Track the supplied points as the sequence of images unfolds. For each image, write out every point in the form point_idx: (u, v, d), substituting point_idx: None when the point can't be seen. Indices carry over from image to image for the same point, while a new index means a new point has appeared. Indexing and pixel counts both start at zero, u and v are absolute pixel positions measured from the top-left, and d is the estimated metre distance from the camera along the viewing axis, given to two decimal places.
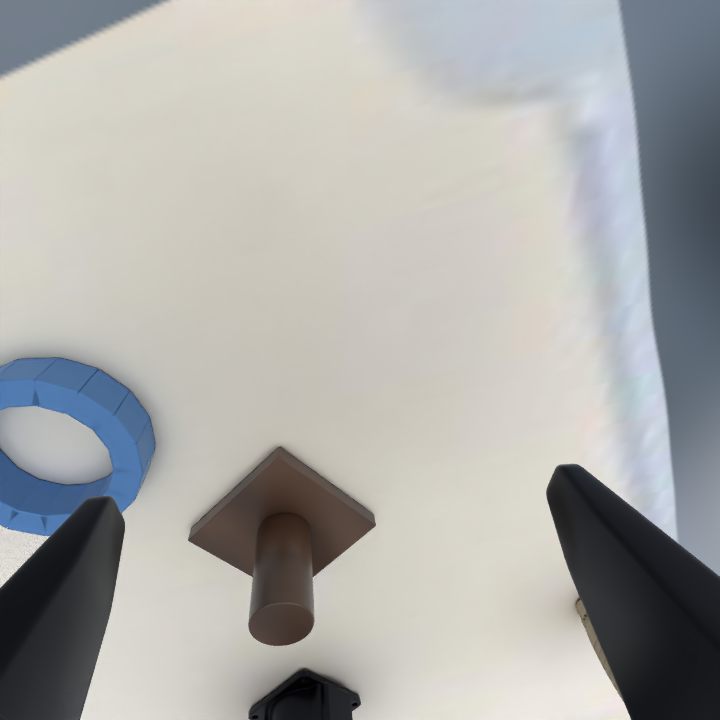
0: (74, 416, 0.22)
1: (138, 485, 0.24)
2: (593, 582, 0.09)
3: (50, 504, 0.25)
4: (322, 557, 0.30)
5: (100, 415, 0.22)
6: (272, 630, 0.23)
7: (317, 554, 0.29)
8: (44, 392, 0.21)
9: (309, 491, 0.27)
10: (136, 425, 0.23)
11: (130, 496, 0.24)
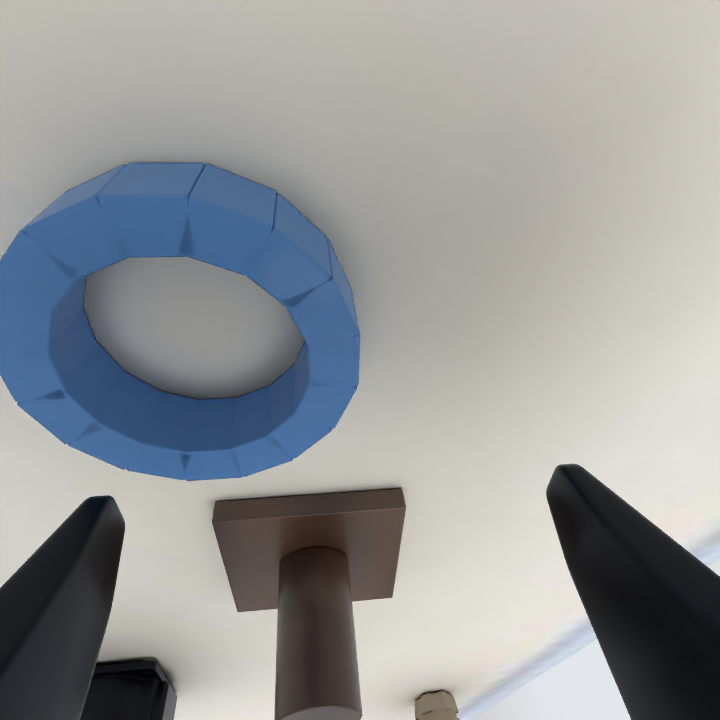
0: (312, 354, 0.12)
1: (269, 467, 0.15)
2: (593, 582, 0.09)
3: (108, 402, 0.14)
4: None
5: (342, 377, 0.13)
6: None
7: None
8: (320, 301, 0.12)
9: (385, 547, 0.21)
10: None
11: (244, 471, 0.15)
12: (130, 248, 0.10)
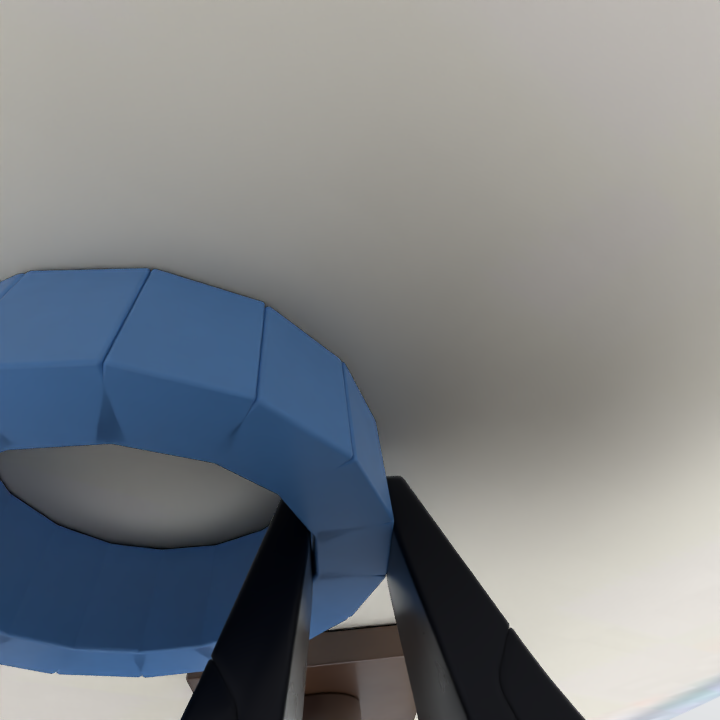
0: (321, 546, 0.08)
1: None
2: (398, 601, 0.08)
3: (24, 590, 0.10)
4: None
5: (365, 567, 0.09)
6: None
7: None
8: (335, 488, 0.07)
9: (406, 687, 0.17)
10: None
11: None
12: (11, 438, 0.06)
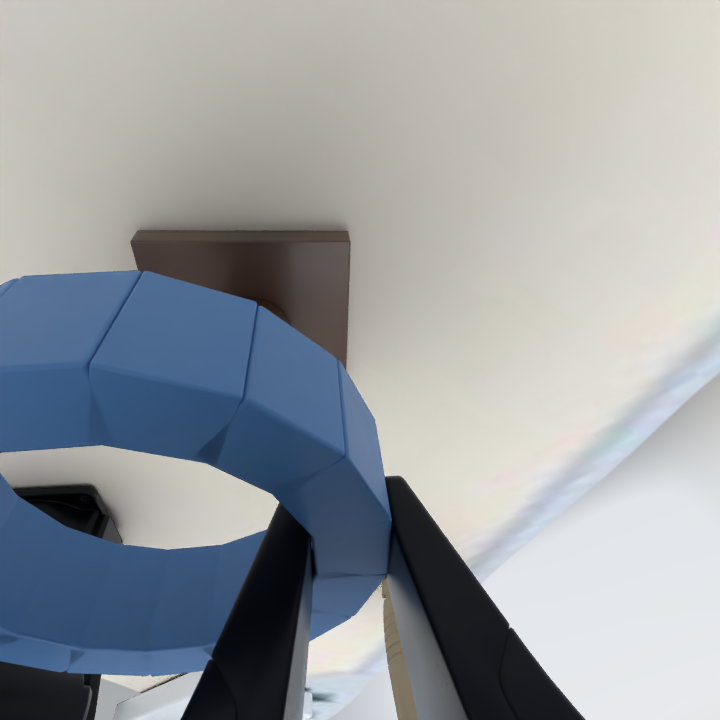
0: (318, 545, 0.08)
1: None
2: (398, 601, 0.08)
3: (32, 591, 0.10)
4: None
5: (365, 566, 0.09)
6: None
7: None
8: (328, 487, 0.07)
9: (331, 308, 0.19)
10: None
11: None
12: (4, 441, 0.06)
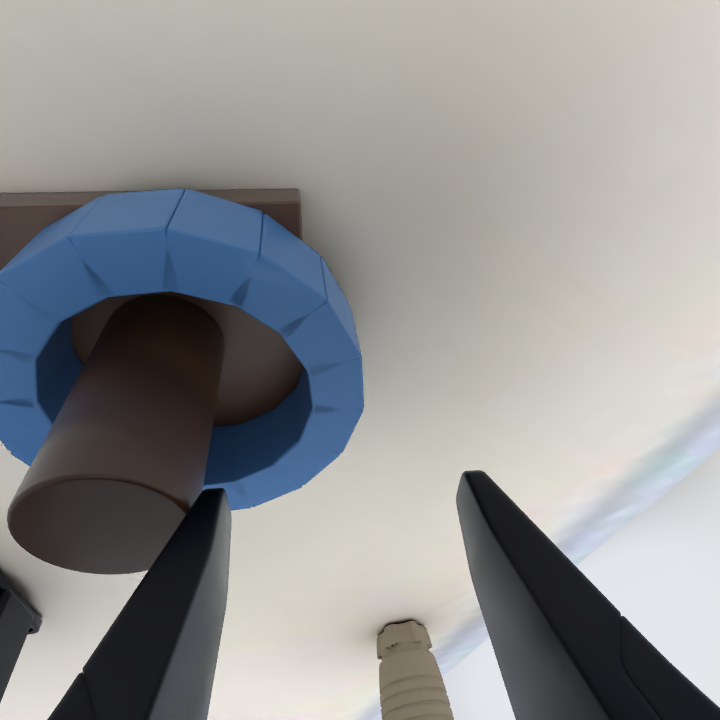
0: (313, 380, 0.12)
1: (278, 495, 0.15)
2: (488, 592, 0.09)
3: None
4: None
5: (346, 400, 0.12)
6: (71, 531, 0.09)
7: None
8: (317, 326, 0.11)
9: None
10: None
11: (252, 502, 0.14)
12: (111, 287, 0.10)
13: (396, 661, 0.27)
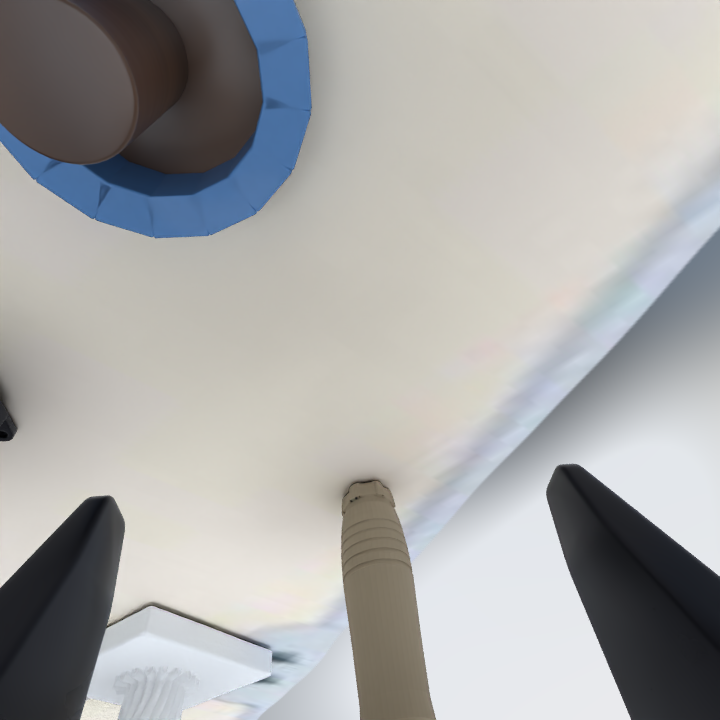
0: (262, 62, 0.13)
1: (234, 222, 0.16)
2: (593, 582, 0.09)
3: None
4: (155, 165, 0.16)
5: (294, 95, 0.13)
6: (25, 78, 0.10)
7: (151, 152, 0.16)
8: None
9: (240, 23, 0.14)
10: None
11: (210, 227, 0.16)
12: None
13: (358, 509, 0.28)
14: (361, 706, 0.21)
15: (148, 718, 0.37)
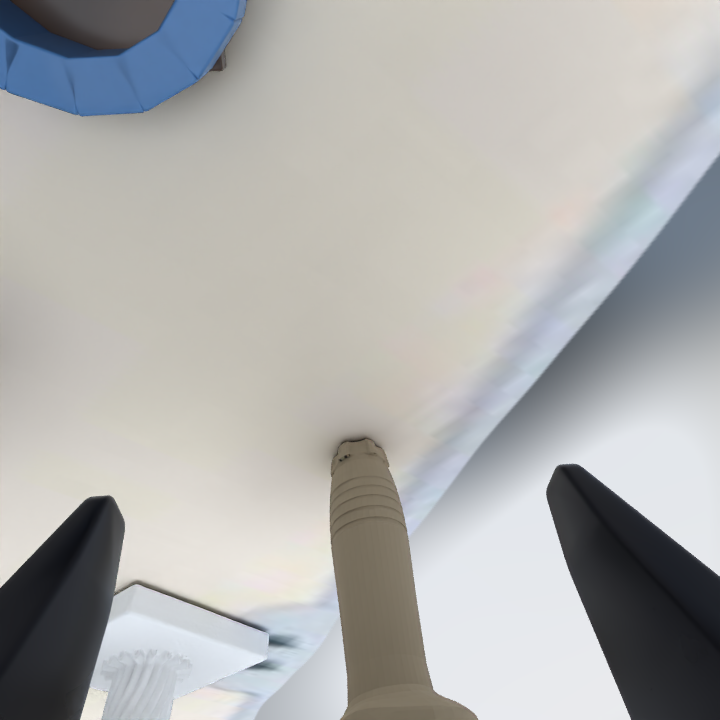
0: None
1: (171, 94, 0.13)
2: (593, 582, 0.09)
3: None
4: (83, 39, 0.14)
5: None
6: None
7: (77, 21, 0.14)
8: None
9: None
10: (242, 0, 0.13)
11: (143, 100, 0.13)
12: None
13: (347, 467, 0.26)
14: (348, 674, 0.19)
15: (136, 703, 0.35)
